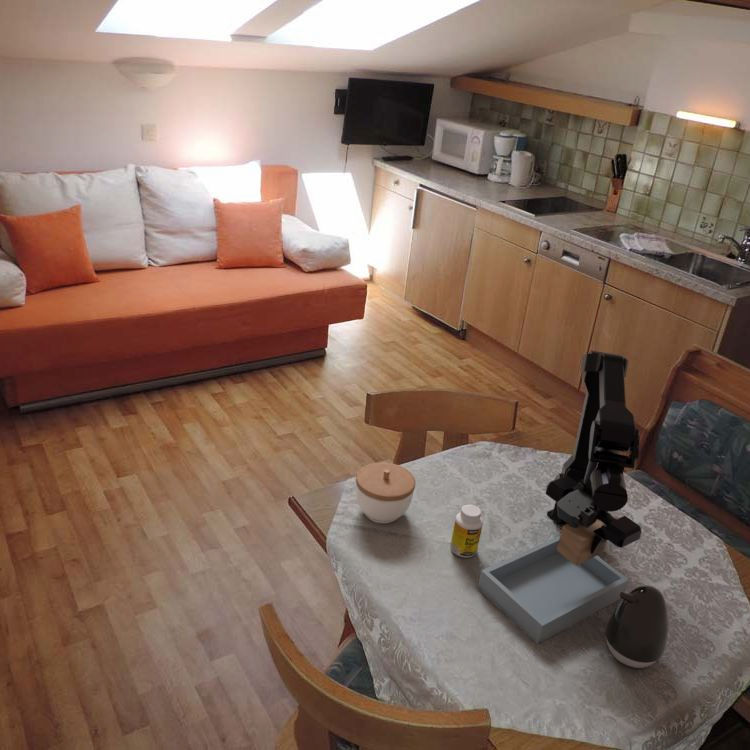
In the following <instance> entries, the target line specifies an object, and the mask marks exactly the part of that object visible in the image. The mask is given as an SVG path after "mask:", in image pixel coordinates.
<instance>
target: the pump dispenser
mask: <svg viewBox="0 0 750 750" xmlns="http://www.w3.org/2000/svg"><path fill="white" fill-rule="evenodd" d="M619 596H620V598H621V600H620V602H619V603H618V604H617V606H615V608H614V610H613V611H612V613H611V615H610V617H609V619H608V621H607V622H606V625H605V629H604V630H605V631H604V633H605V637H606V638H605V639H606V643H607V646H608V649H609V651H610V653H611V654H612V655H613V657H614V658H615V659H616V660H617V661H619V662H620V663H622V664H623V665H626V666H628V667H631V668H636V669H637V668H638V669H642V668H647V667H649V666H651V665H653V664H654V663H656V662H657V661H658V660H660V659H661V658H662V657H663V656H664V654H665V651H666V648H667V643H668V637H669V629H670V626H669V625H670V622H669V621H670V620H669V611H668V604H667V602H666V599H665V597H664V594H663V593H662V592H661V591H660V590H659V589H658V588H656V587H655V586H652V585H648V584H647V585H646V584H644V585H643V584H642V585H640V586H637V587H635V588H633V589H632V590H630V591H629V592H628V593H627V592H625V593H624V592H621V593H620V595H619Z"/></svg>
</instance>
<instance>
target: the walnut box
mask: <svg viewBox="0 0 750 750" xmlns="http://www.w3.org/2000/svg"><path fill="white" fill-rule="evenodd" d="M601 526H602V522H601V521H598V520H597V521H596V522H595V523H594V524H592V525H591V526H590V527H588V528H586V527H585V526H579V527H577V528H573V527H571V526H569V524H565V525H563V526H562V528H561V532H560V534H559V536H560V539H559V543H558V546H557V551H558V552H559V553H561V554H562V555H563V556H564V557H566V558H567V559H568V560H569V561H571V562H572V563H573V564H574V565H576V566H577V565H579V564H581V563H583V562H585V561H587V560H589V559H591V558H593V557H595V556H599V555H601V554H603V553H605V552H604V551H605V550H606V549H605V548H606V546H607V543H608V540H607V541H606V542H605V543H604V544H603V545H602V546H601V547H600V549H599V550H598V551H597V552H596V553H594V554H591V547H592V544H593V541H594V538H595V533H594V532H593V531H594V530H596V529H598V528H600V527H601Z"/></svg>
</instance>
